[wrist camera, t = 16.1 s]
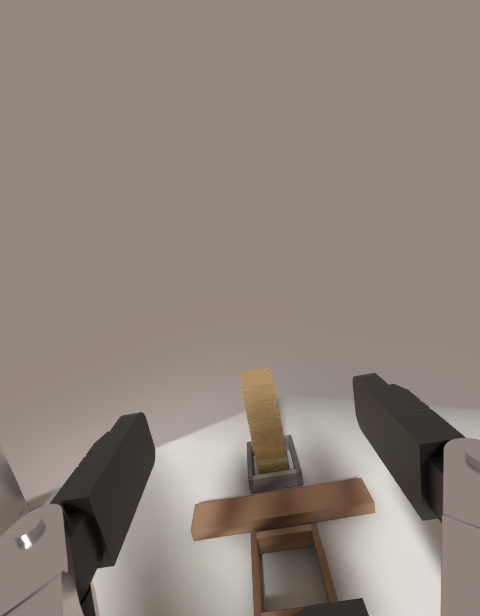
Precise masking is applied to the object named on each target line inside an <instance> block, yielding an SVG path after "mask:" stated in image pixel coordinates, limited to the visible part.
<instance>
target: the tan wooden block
mask: <svg viewBox="0 0 480 616" xmlns="http://www.w3.org/2000/svg"><path fill="white" fill-rule="evenodd" d="M241 390H242V395H243V400H244V405H245V409H246V414H247V419H248V424H249V429H250V434H251V439H252V443H253V448H254V453H255V458H256V463H257V468H258V472H259V475H260V474H267V473H273V472H279V471H285V470H289V465H288V459H287V454H286V448H285V442H284V437H283V431H282V425H281V420H280V414H279V408H278V403H277V397H276V391H275V386H274V381H273V377H272V373H271V369H270V367H269V368H263V369H258V370H252V371H246V372H241Z"/></svg>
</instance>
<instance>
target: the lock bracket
mask: <svg viewBox="0 0 480 616" xmlns="http://www.w3.org/2000/svg"><path fill="white" fill-rule="evenodd" d="M283 437H284V442H285V448H286V450H290V453H291V457H292V461H293V465H294V469H291V470H285V471H279V472H273V473H267V474H260V475H254V461H253V456H255V453H254V448H253V443H252V442H247V462H248V481H249V486H250V491H251V493H257V492H263V491H270V490H276V489H282V488H288V487H294V486H301V485H303V479H302V473H301V469H300V465H299V462H298V458H297V455H296V451H295V448H294V444H293V440H292V437H291V435H287V436H283ZM370 513H375V507H374V501H373V499H372V497H371V495H370V493H369V491H368V490H367V488H366V486H365V484H364V482H363V480H362V478H357V479H351V480H345V481H339V482H332V483H326V484H320V485H314V486H307V487H301V488H295V489H289V490H282V491H276V492H270V493H264V494H257V495H251V496H245V497H239V498H232V499H226V500H220V501H214V502H207V503H201V504H195V508H194V514H193V520H192V526H191V533H192V536H193V540H194V541H197V540H203V539H209V538H216V537H222V536H229V535H235V534H242V533H248V532H255V531H261V530H267V529H274V528H280V527H287V526H293V525H300V524H306V523H313V522H319V521H325V520H332V519H338V518H345V517H351V516H358V515H364V514H370ZM310 546H314V547H315V551H316V555H317V559H318V563H319V567H320V571H321V575H322V579H323V583H324V586H325V590H326V594H327V598H328V602H329V603H331V602H338V600H337V596H336V593H335V589H334V586H333V582H332V579H331V575H330V571H329V568H328V564H327V561H326V557H325V554H324V550H323V547H322V543H321V540H320V536H319V532H318V529H317V525H316V523H314V524H308V525H301V526H295V527H288V528H282V529H275V530H269V531H263V532H256V533H251V555H252V578H253V602H254V616H291V615H293V614H295V613H297V612H299V611H301V610H302V609H304V608H306V607H308V606H306V607H299V608H292V609H285V610H278V611H271V612H264V601H263V587H262V573H261V559H260V554H263V553H270V552H277V551H283V550H290V549H296V548H303V547H310Z"/></svg>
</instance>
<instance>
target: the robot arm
mask: <svg viewBox="0 0 480 616" xmlns="http://www.w3.org/2000/svg"><path fill="white" fill-rule="evenodd" d="M353 391H354V401H355V411H356V417H357V421H358V424H359V426H360V428H361V430H362V432H363V434H364V435H365V437H366V438H367V439H368V441H369V442H370V444H371V445H372V447H373V448H374V450H375V451H376V453H377V454H378V456H379V457H380V459H381V460H382V462H383V463H384V465H385V466H386V467H387V469H388V470H389V472H390V473H391V475H392V476H393V478H394V479H395V481H396V482H397V484H398V485H399V487H400V488H401V490H402V491H403V493H404V494H405V496H406V497H407V498H408V500H409V501H410V503H411V504H412V506H413V507H414V509H415V510H416V512H417V513H418V515H419V516H420V518H421V519H422V521H424V520H430V519H437V518H438V519H439V520H440V521H441V523H442V559H441V616H480V440H478V439H472V438H466V437H464V436H463V435H462V434H461V433H460V432H458V431H457V430H456V429H455V428H454V427H452V426H451V425H450V424H449V423H448V422H446V421H445V420H444V419H443V418H442V417H440V416H439V415H438V414H437V413H436V412H434V411H433V410H432V409H431V410H430V408H429V407H428V406H427V405H426V404H425V403H423V402H421V401H420V399H419V398H417V397H416V396H415V395H414V394H413V393H411V392H410V391H409V390H407V389H404V388H402V387H400V386H398V385H395V384H391V385H388V384H387V383H386V382H385V381H384V380H382V378H380V377H379V376H378V375H377V374H376V373H371V374H365V375H359V376H354V377H353ZM154 462H155V447H154V443H153V440H152V436H151V433H150V430H149V426H148V423H147V420H146V417H145V415H144V413H142V412H140V413H134V414H128V415H123V416H121V417H120V418H119V419H118V421H117V422H116V423H115V425H114V426H113V428H112V429H111V431H110V432H107V433H106V434H105V435H104V436H102V437H101V438H100V439H99V440H98V441H96V443H94V445H93V446H92V447H91V449H90V450H89V452H88V453H87V454H86V457H84V458H83V460H82V461H81V462H80V464H79V467H77V468H76V469H75V470H74V472H73V473H72V474H71V476H70V477H69V478H68V480H67V481H66V482H65V484H64V485H63V487H62V488H61V489H60V491H59V492H58V493H57V495H56V496H55V497H54V499H53V500H52V501H51V503H50V504H48V505H44V506H41V507H39V508H37V509H35V510H33V511H31V512H30V511H29V508H28V506H27V503H26V501H25V499H24V497H23V495H22V492H21V490H20V488H19V485H18V483H17V481H16V479H15V476H14V474H13V472H12V470H11V468H10V465H9V463H8V461H7V459H6V456H5V454H4V452H3V450H2V447H1V445H0V616H99V611H98V605H97V599H96V594H95V588H94V585H93V583H92V579H93V576H94V574H95V572H96V570H97V568H103V567H110V566H114V565H115V563H116V560H117V558H118V555H119V552H120V550H121V547H122V545H123V542H124V540H125V537H126V535H127V532H128V529H129V527H130V524H131V522H132V519H133V517H134V514H135V512H136V509H137V506H138V504H139V501H140V499H141V496H142V494H143V491H144V489H145V486H146V483H147V481H148V478H149V476H150V473H151V471H152V468H153V466H154ZM291 616H369V615H368V612H367V609H366V607H365V604H364V601H363V598H359V599H352V600H345V601H338V602H331V603H324V604H317V605H310V606H308V607H306V608H304V609H302V610H301V611H299V612H297V613H295V614H293V615H291Z"/></svg>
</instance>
